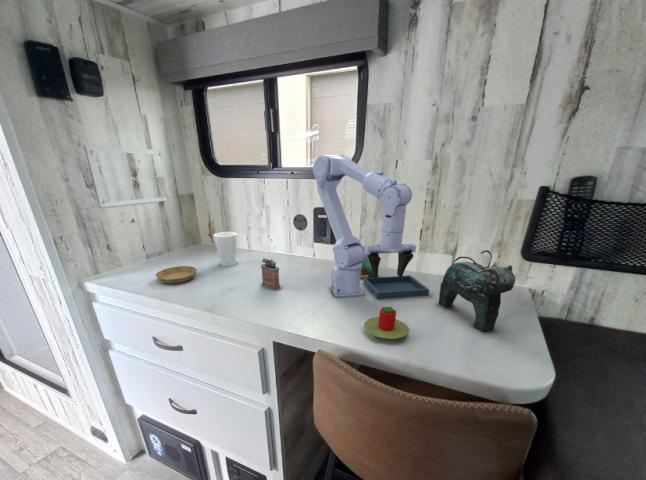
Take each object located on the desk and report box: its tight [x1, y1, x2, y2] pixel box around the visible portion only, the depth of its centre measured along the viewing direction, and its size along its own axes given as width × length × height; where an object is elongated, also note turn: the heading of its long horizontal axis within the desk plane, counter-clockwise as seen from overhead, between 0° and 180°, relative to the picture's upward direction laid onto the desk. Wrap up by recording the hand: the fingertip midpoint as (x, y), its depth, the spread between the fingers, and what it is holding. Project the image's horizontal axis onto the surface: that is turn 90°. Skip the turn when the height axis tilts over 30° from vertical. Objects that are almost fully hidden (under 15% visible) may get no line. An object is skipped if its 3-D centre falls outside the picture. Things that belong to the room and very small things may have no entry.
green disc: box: [363, 316, 410, 340], centre depth 79 cm, size 11×11×2 cm
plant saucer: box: [155, 265, 198, 284], centre depth 117 cm, size 15×15×3 cm
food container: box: [360, 245, 380, 280], centre depth 117 cm, size 12×6×10 cm, turn 168°
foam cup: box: [213, 231, 238, 267], centre depth 131 cm, size 10×9×13 cm
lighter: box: [260, 257, 281, 291], centre depth 107 cm, size 8×3×10 cm, turn 47°
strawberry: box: [378, 306, 397, 331], centre depth 78 cm, size 4×4×5 cm
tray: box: [363, 274, 430, 300], centre depth 105 cm, size 18×14×2 cm
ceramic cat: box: [438, 249, 516, 333], centre depth 83 cm, size 20×6×20 cm, turn 17°
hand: (387, 276), depth 91 cm, fingers open, 7 cm apart
